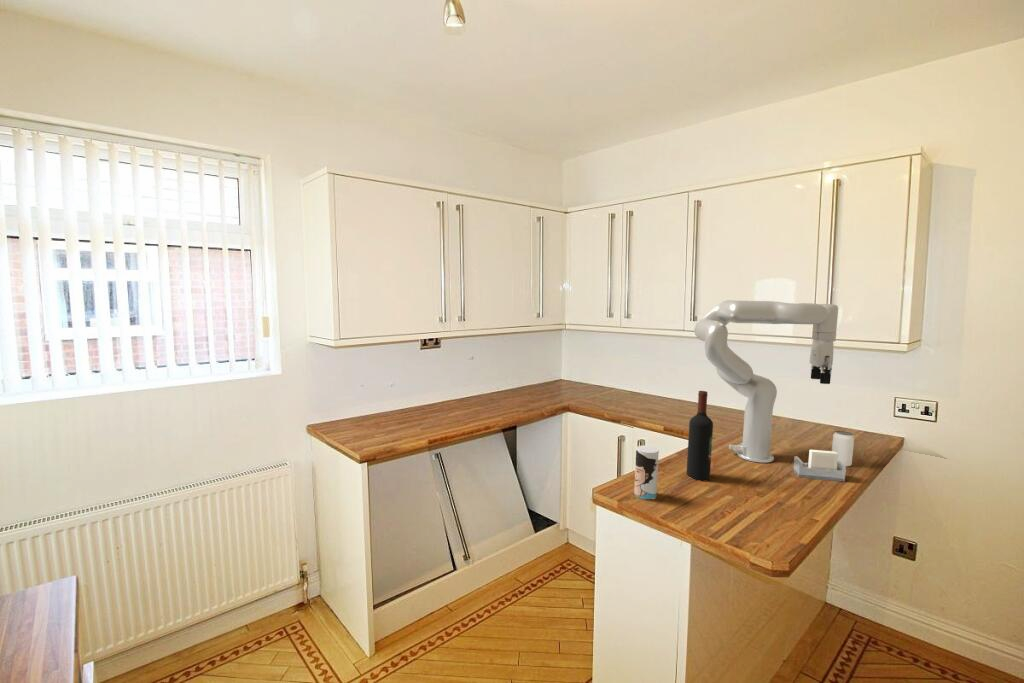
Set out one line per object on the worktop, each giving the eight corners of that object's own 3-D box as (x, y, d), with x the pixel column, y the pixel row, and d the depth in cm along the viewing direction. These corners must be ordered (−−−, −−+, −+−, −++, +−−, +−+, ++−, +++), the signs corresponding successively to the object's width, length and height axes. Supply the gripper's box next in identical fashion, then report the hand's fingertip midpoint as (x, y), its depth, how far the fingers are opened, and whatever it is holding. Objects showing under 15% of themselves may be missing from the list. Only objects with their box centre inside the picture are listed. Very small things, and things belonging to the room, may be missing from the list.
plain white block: (810, 474, 166) (812, 451, 166) (807, 471, 169) (809, 449, 168) (836, 476, 165) (838, 454, 164) (833, 473, 167) (835, 451, 166)
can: (831, 459, 184) (834, 429, 183) (852, 463, 180) (855, 432, 179) (829, 464, 179) (832, 433, 178) (850, 468, 175) (853, 436, 174)
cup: (640, 489, 154) (642, 444, 153) (659, 495, 150) (662, 448, 148) (630, 495, 149) (632, 449, 148) (650, 502, 145) (652, 454, 143)
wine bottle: (683, 472, 169) (688, 389, 166) (705, 472, 169) (710, 389, 166) (690, 480, 162) (695, 393, 158) (713, 481, 162) (718, 394, 158)
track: (798, 477, 166) (799, 462, 165) (793, 470, 172) (794, 456, 171) (844, 481, 163) (846, 466, 162) (837, 475, 168) (838, 460, 168)
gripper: (805, 334, 190) (801, 376, 192) (821, 338, 173) (817, 385, 175) (826, 335, 188) (822, 377, 190) (844, 339, 171) (840, 386, 173)
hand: (820, 381), depth 182 cm, fingers open, 9 cm apart
